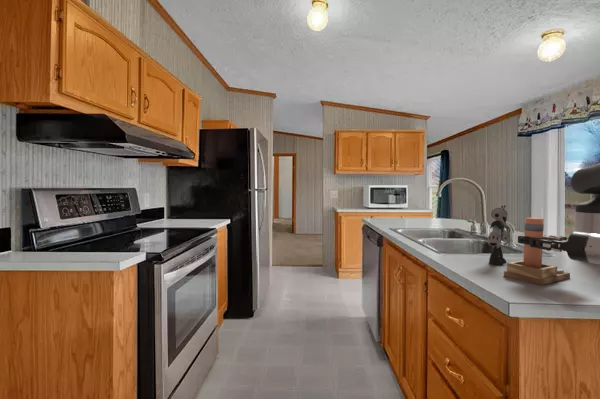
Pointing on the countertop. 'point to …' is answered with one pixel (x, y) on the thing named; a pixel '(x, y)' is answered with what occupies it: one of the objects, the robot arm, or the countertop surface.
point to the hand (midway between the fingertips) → (523, 238)
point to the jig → (535, 273)
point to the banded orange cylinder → (532, 254)
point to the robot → (498, 236)
